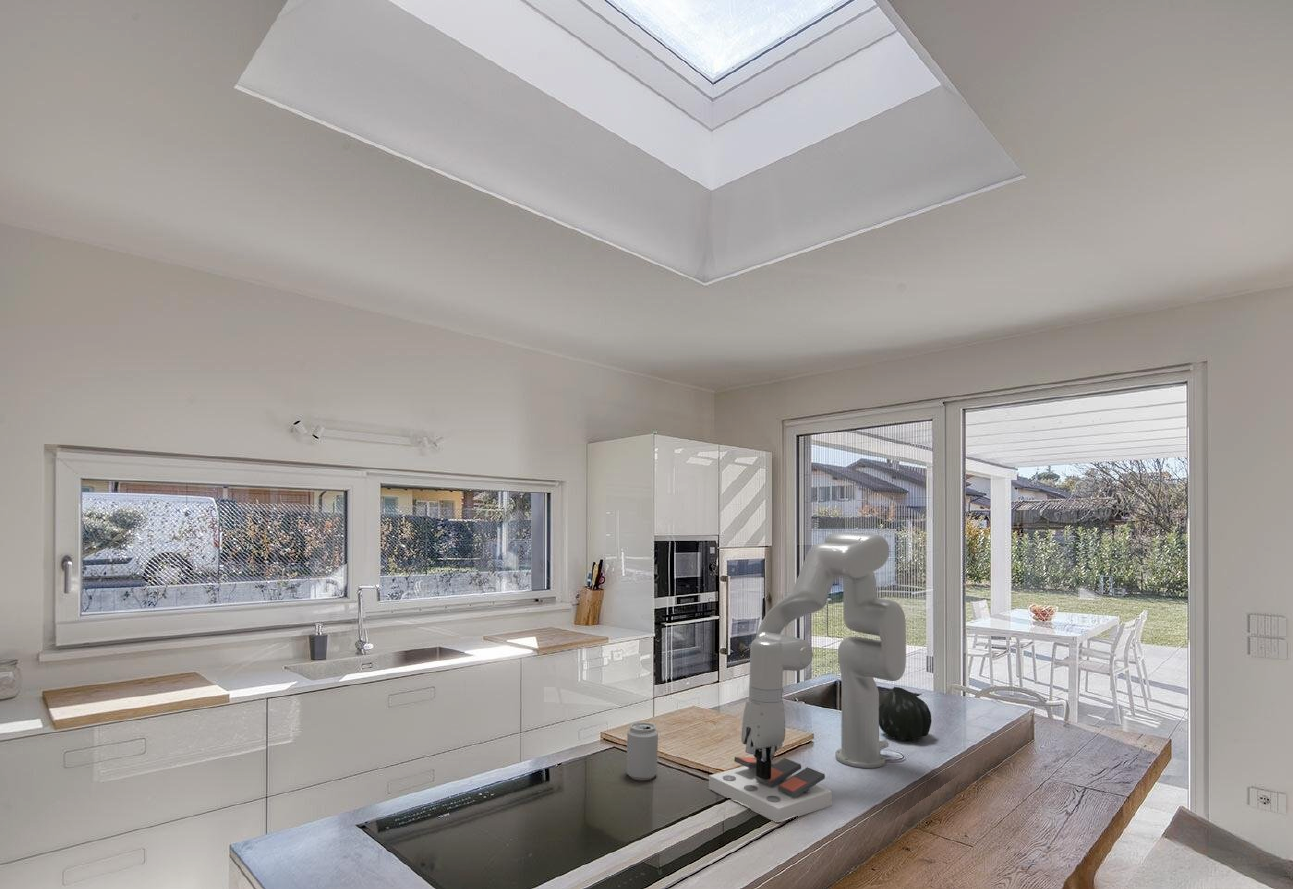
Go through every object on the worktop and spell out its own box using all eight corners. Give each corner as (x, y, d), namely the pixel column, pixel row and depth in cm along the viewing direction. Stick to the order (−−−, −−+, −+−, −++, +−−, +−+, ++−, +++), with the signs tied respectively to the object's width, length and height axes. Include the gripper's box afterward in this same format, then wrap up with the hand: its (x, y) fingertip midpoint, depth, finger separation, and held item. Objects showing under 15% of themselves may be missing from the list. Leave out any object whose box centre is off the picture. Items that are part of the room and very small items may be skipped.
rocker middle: (785, 761, 174) (784, 757, 174) (801, 768, 170) (800, 763, 170) (755, 779, 168) (754, 775, 168) (771, 786, 164) (770, 782, 164)
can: (653, 782, 174) (655, 731, 174) (623, 779, 175) (624, 728, 176) (659, 771, 181) (660, 721, 182) (630, 768, 182) (631, 719, 183)
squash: (948, 720, 212) (913, 674, 219) (929, 733, 201) (893, 685, 208) (913, 744, 219) (880, 699, 226) (892, 758, 207) (858, 711, 214)
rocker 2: (807, 771, 169) (807, 766, 168) (825, 778, 164) (824, 773, 164) (778, 789, 163) (777, 784, 163) (795, 797, 159) (794, 792, 159)
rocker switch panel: (760, 773, 181) (761, 757, 181) (831, 805, 163) (831, 787, 163) (708, 788, 171) (709, 771, 171) (778, 823, 153) (778, 804, 153)
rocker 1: (763, 762, 180) (764, 757, 180) (778, 768, 175) (779, 763, 176) (734, 761, 174) (734, 756, 174) (748, 767, 170) (749, 762, 170)
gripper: (776, 687, 175) (774, 766, 174) (730, 694, 167) (727, 778, 165) (800, 694, 169) (798, 776, 168) (753, 702, 161) (751, 789, 159)
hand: (763, 777), depth 166 cm, fingers closed
